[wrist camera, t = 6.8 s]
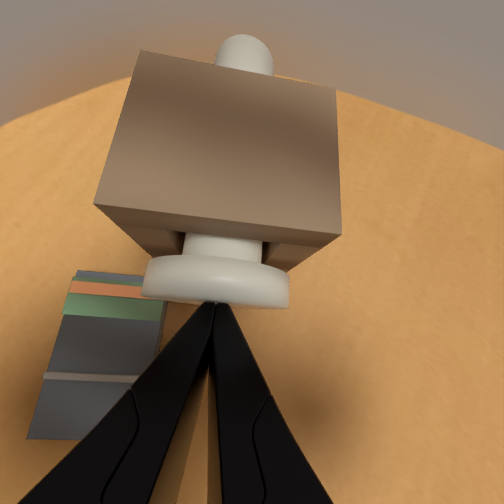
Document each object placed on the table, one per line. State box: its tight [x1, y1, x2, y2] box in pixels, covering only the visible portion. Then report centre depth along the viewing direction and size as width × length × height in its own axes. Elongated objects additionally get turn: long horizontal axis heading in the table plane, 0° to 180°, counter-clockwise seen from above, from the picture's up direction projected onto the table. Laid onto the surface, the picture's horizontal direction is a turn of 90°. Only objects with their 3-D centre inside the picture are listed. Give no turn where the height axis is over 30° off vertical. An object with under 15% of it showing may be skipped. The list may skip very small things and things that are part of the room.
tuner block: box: [26, 50, 342, 440], centre depth 9 cm, size 13×11×10 cm
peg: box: [69, 34, 289, 309], centre depth 10 cm, size 11×10×8 cm
